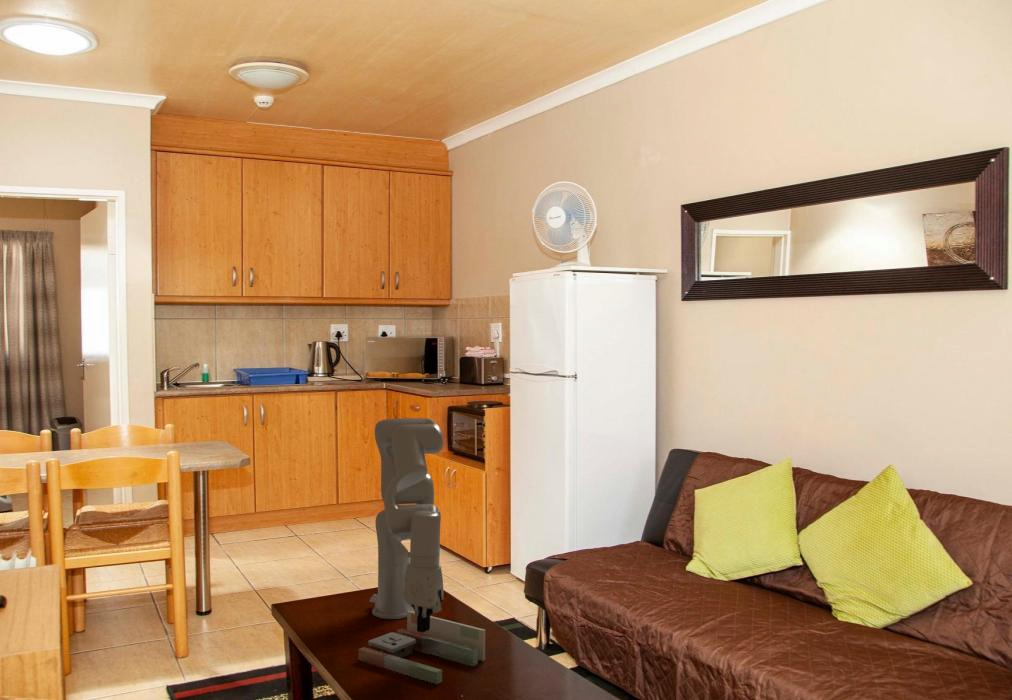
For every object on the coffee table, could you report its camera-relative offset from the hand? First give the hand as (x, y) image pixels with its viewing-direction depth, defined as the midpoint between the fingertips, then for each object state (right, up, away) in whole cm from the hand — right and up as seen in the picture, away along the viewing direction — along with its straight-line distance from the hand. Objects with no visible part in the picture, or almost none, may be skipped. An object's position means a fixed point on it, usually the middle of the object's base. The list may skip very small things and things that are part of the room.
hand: (423, 630), depth 221 cm
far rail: (+3, -8, +6) cm, 11 cm away
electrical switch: (-6, -7, +3) cm, 10 cm away
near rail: (-6, -8, -6) cm, 11 cm away
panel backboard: (+5, -8, +9) cm, 13 cm away
